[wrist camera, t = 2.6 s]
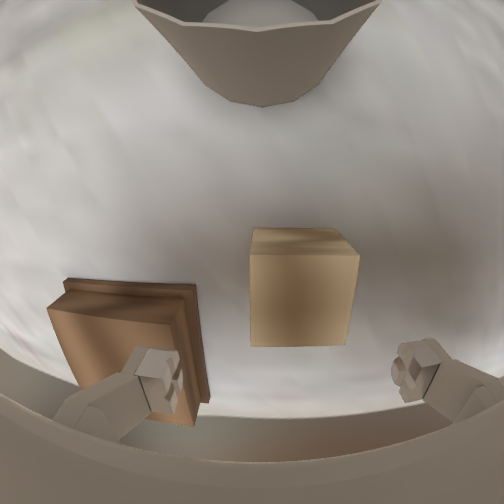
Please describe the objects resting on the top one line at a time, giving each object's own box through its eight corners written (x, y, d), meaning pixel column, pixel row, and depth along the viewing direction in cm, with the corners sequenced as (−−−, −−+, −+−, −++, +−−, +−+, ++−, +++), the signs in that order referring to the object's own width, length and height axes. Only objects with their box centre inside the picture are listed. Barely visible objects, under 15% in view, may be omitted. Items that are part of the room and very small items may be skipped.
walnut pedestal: (195, 285, 18) (179, 316, 14) (210, 396, 22) (202, 431, 18) (68, 277, 18) (39, 299, 15) (102, 379, 22) (86, 405, 18)
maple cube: (334, 228, 16) (360, 255, 12) (327, 300, 18) (344, 344, 13) (253, 227, 17) (249, 255, 12) (254, 300, 18) (250, 346, 14)
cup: (207, 120, 15) (129, 72, 5) (182, 16, 12) (119, -72, 3) (345, 94, 14) (435, 32, 4) (308, -8, 11) (336, -105, 2)
